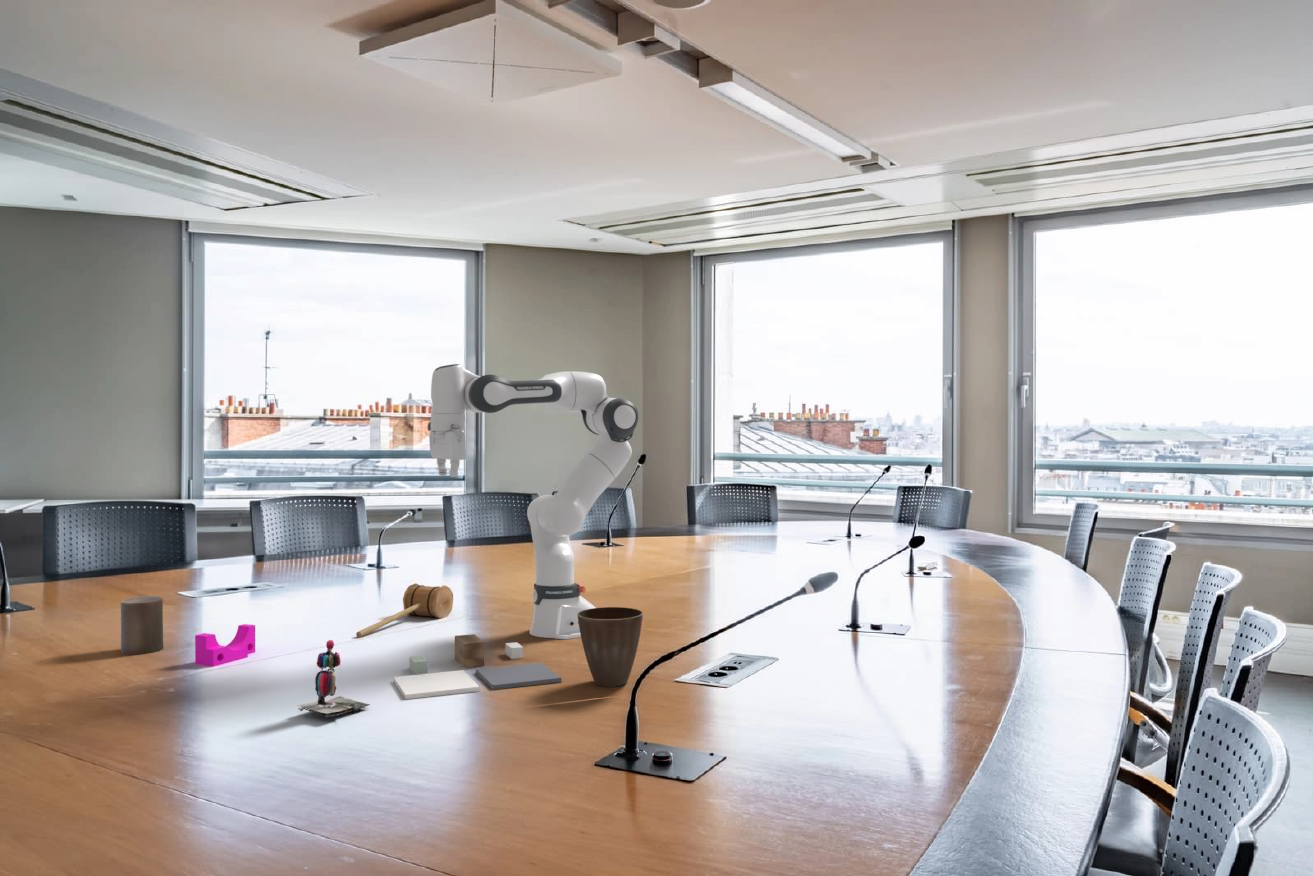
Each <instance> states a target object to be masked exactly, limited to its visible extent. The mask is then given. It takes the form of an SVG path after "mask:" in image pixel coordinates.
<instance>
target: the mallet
mask: <svg viewBox="0 0 1313 876" xmlns="http://www.w3.org/2000/svg"><path fill="white" fill-rule="evenodd" d="M402 602H403V604H402V605H403V610H401V611H399V612H397V613H395V614H393V615H391V616H389V617H387V618H385V619H383V620H381V621H378V622H376V623H373V624H372V625H369V626H367V627H365V628H362V629H360V630H359V631H357V632H356V634H355V636H356V637H357V638H361V637H363V636H366V635H368V634H371V633H372V632H374V631H377V630H379V629H381V628H382V627H384V626H387V625H388V624H391V623H392V622H394V621H396V620H398V619H400V618H402V617H404V616H407V615H408V616H409V617H411V616H417V617H419V616H421V617H423V616H424V617H432V618H437V619H445V618H447V617H448V616H449V615H450V614H451V613H452V611H453V607H454V606H453V605H454V593H453V591H452V589H451V588H450V587H448V586H447V585H445V584H444V585H441V586H430V585H429V586H428V585H424V584H421V585H420V584H418V583H413V584H410V585H409V586H407V588H406V590H405V591H404V593H403V598H402Z"/></svg>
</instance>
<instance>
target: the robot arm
mask: <svg viewBox="0 0 1313 876" xmlns="http://www.w3.org/2000/svg"><path fill="white" fill-rule="evenodd" d="M430 385H431V386H430V398H431V402H432V405H431V406H432V407H431V410H430V411H431V412H430V421H428V423H427V425H426V427H427V431H428V432H429V435H428V437H429V452H430V456H431V459H436V464H437V468H438V475H439V476H447V472H448V471H447V467H446V463H447V460H449V464H450V469H449V477H451V478H458V476H459V475H458V473H459V472H458V471H459V467H460V465H461V464H460V461H463V460H465V459H466V457H467V443H466V434H465V432H464V431H465V430H466V429H465V427H466V426H465V423H466V421H465V417H466V416H465V415H466V413H465V412H466V411H470V412H473V413H477V414H478V413H479V414H480V413H486V414H487V413H488V414H490V413H492V414H494V413H498V412H499V411H502V410H503V409H505V408H508V407H509V406H514V405H525V404H527V405H529V404H539V405H542V406H543V407H544V408H545V409H547V410H553V411H573V410H574V411H576V410H580V413H581V415H582V421H583V424H584V426H585V428H586V430H588V431H589V432H590V433H592V434H593V435H598V436H597V438H596V439H597V440H596V442H595V444H594V445H593V447H592V448H591V449H590V450H588V451H587V452H586V453H585V455H584V456H583V457H582V458H581V459H580V460H579V461H578V462H577V463H576V464H575V465H574V466H573V467H572V468H571V470H570V471H569V472H568V473H567V476H566V479H565V480H564V482H563V484H562V486H561V487H560V489H559V490H558V491H557V492H556V493H554V494H544V495H541V496H538V497H536V498H534V499H533V500H532V501H531V502H530V503H529V505H528V507H527V512H526V516H527V520H528V522H529V526H530V532H531V540H532V543H533V550H534V564H535V565H534V566H535V571H534V575H535V576H534V577H535V578H534V579H535V582H534V584H533V591H532V595H533V596H532V597H533V598H532V599H533V604H534V605H533V606H534V608H533V617H532V622H531V626H530V629H529V635H531V636H533V637H537V638H547V639H557V640H570V639H576V638H581V634H580V629H579V622H578V615H577V614H578V613H579V612H580V611H583V610H587V609H592V608H597V607H596V606H594V605H593V604H592V603H591V602H590V601H588V600H587V599H585V598H584V597H583V596H581V594H584V593H586V591H587V587H586V585H583V584H578V583H576V582H575V554H574V551H573V548H572V545H571V541H570V536H572V535H575V534H577V533H578V532H579V531H580V530H581V529H582V528H583V526H584V524H585V518H586V517H587V515H588V514H589V512H590V510H591V509H592V507H593V505H594V504H595V503H596V501H597V499H599V497H600V496H601V495H602V494H603V492H605V491H606V489H607V488H608V487H609V486H610V485H611V484H612V483H613V482H614V481H615V479H616V478H618V476H619V475H620V474H621V472H622V471H623V470H624V468H625V467H626V465H627V464H628V462H629V460H630V459H631V457H632V455H633V454H632V453H633V450H632V446H631V444H630V443H629V440H630V439H632V437H633V435H634V431H635V429H636V427H637V425H638V422H639V412H638V409H637V406H636V405H635V404H634V403H633V402H631V401H630V400H628V399H626V398H621V397H620V398H619V397H618V398H617V397H610V396H609V395H608V392H607V385H606V383H605V380H604V379H603V377H602V376H600V375H599V374H598V373H595V372H594V373H593V372H588V371H573V370H572V371H570V370H569V371H557V372H553V373H552V372H551V373H548V374H544V375H543V376H541V378H539V379H534V380H533V379H532V380H531V379H530V380H509V379H506V378H504V377H500V376H499V375H496V374H485V375H481V376H480V375H478V374H475V373H473V372H471V371H469V370H467V369H466V368H464V366H463V365H462V364H459V363H452V364H447V365H441V366H438V367H436V368H435V369H434V370H433V372H432V376H431V383H430Z"/></svg>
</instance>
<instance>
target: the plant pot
mask: <svg viewBox="0 0 1313 876" xmlns="http://www.w3.org/2000/svg"><path fill="white" fill-rule="evenodd" d="M577 615H578V622H579V629H580V634H581V637H580V639H581V643H582V646H583V651H584V654H585V658H586V663H587V664H588V668H589V671H590V673H591V676H592V679H593V682H594V684H595V685H597V686H600V687H607V688H608V687H609V688H610V687H613V688H614V687H620V686H625V685H626V684H627V683H628V680H629V678H630V675H631V673H632V670H633V669H632V668H633V667H634V663H635V660H636V655H637V651H638V646H639V642H640V637H641V632H642V631H641V630H642V625H643V616H644V612H643V611H642V610H641V609H637V608H633V607H624V606H623V607H622V606H619V607H618V606H611V607H610V606H607V607H605V606H604V607H596V608H592V609H587V610H583V611H580V612H579V613H578V614H577Z"/></svg>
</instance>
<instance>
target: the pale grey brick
mask: <svg viewBox="0 0 1313 876" xmlns="http://www.w3.org/2000/svg"><path fill="white" fill-rule="evenodd" d="M504 644H505V655H506V656H507V657H508V658H510V660H520V659H524V647H523V645H521V644H520V643H518V642H517V641H516V642H507V643H506V642H505V643H504Z"/></svg>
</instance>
